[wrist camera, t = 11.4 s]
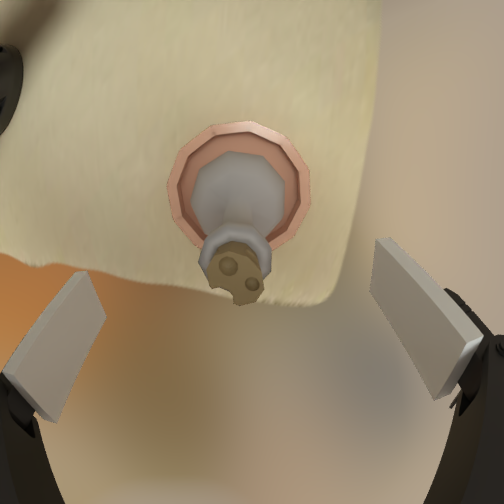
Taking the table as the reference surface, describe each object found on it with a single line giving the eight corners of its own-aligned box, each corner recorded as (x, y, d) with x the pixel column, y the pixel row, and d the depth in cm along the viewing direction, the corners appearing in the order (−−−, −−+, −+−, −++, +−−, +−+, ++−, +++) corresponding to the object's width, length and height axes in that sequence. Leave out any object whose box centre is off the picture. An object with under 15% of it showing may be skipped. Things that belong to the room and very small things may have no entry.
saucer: (187, 254, 32) (183, 264, 30) (165, 133, 26) (158, 134, 24) (306, 241, 32) (311, 251, 30) (300, 117, 26) (305, 117, 24)
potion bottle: (256, 242, 31) (270, 371, 15) (183, 205, 29) (117, 310, 13) (298, 173, 28) (371, 246, 12) (221, 132, 26) (184, 141, 9)
